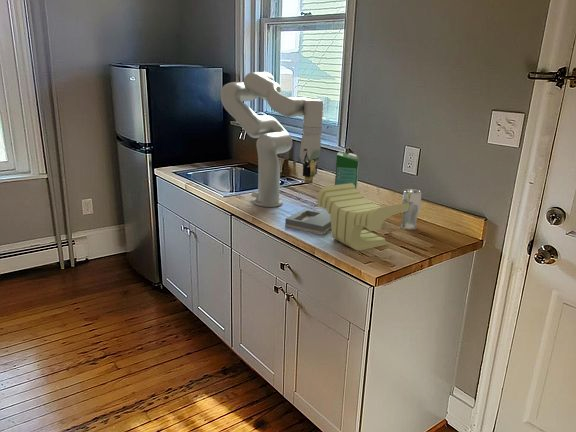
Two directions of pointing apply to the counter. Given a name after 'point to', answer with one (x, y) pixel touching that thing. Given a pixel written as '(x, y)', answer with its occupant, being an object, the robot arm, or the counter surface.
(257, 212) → the counter surface
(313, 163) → the peg
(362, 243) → the slatted curved stool
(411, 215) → the beer glass
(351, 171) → the milk carton
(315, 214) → the board
